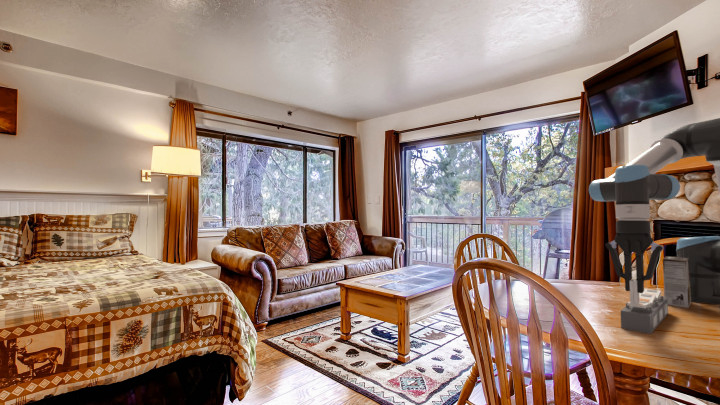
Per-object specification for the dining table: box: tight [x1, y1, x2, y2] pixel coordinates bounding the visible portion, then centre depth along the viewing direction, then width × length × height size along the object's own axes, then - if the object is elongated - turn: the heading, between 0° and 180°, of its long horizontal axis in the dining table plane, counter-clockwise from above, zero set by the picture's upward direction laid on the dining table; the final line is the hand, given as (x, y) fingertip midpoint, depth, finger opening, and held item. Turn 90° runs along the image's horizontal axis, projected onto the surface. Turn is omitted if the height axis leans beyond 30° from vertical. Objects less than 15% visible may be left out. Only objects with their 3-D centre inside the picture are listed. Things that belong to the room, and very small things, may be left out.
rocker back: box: [643, 288, 662, 300], centre depth 107 cm, size 6×4×1 cm, turn 130°
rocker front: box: [626, 301, 650, 309], centre depth 96 cm, size 6×4×1 cm, turn 130°
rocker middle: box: [639, 293, 656, 306], centre depth 101 cm, size 6×4×1 cm, turn 130°
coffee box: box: [662, 255, 692, 309], centre depth 118 cm, size 9×6×16 cm
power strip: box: [620, 295, 669, 335], centre depth 101 cm, size 27×7×6 cm, turn 130°
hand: (634, 303), depth 94 cm, fingers closed
